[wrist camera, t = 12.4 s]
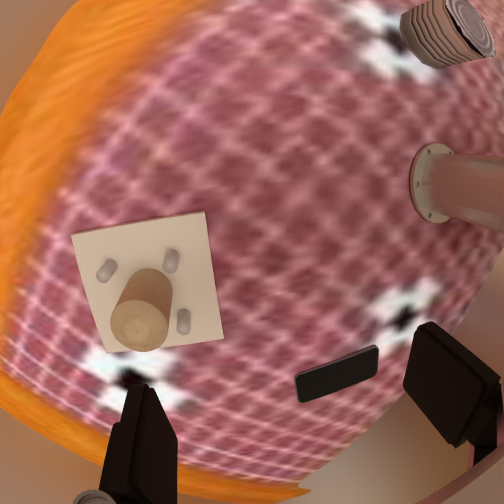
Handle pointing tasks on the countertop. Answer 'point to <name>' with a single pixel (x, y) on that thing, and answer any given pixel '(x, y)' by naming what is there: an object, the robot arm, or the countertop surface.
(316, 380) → the smartphone
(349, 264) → the countertop surface
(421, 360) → the robot arm
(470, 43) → the can
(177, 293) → the plate
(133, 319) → the candle
